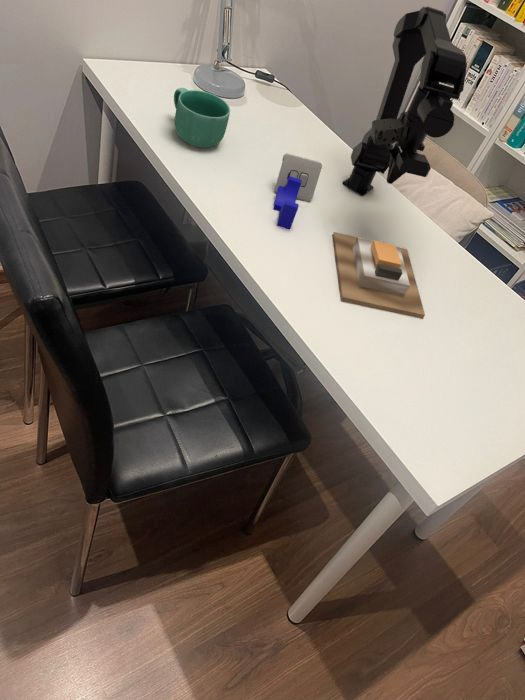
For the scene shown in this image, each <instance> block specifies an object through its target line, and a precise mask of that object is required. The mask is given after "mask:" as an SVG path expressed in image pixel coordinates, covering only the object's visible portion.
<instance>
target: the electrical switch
mask: <svg viewBox="0 0 525 700" xmlns="http://www.w3.org/2000/svg"><path fill="white" fill-rule="evenodd" d="M322 168H323V164H322V162H320V161H317V160H314V159H310V158H306V157H302V156H299V155H294V154H290V153H287V152H286V153H284V154H283V155H282V160H281V167H280V168H279V169H280V170H279V173H278V176H277V179H276V184H275V185H274V189H273V191H274V193H275V194H276V193H277V190H278V187H279V185H280V186H283V187H286V184H287V181H288V178H289V176H291V177H294V178H297V179H300V180H302V181H301V185H300V188H299V191H298V195H297V198H296V200H297V199H298V200H302V201H305V202H311V201H313V197H314V195H315V191H316V188H317V185H318V182H319V177H320V176H321V172H322Z"/></svg>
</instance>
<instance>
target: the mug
mask: <svg viewBox="0 0 525 700" xmlns="http://www.w3.org/2000/svg"><path fill="white" fill-rule="evenodd" d="M173 103H174V104H173V105H174V107H175V113H174V114H175V115H174V129H175V131H176V133H177V135H178V136H179V137H180V139H182V140H183V141H185V143H187V144H189V145H191V146H193V147H197V148H209V147H214V146H216V145H218V144H220V142H221V141H222V140H223V139H224V136H225V135H226V132H227V127H228V124H229V119H230V115H231V109H230V106H229V104H228V102H226V101H225V100H224V99H223V98H221V97H219V96H218V95H216V94H213V93H210V92H208V91H207V92H206V91H203V90H197V89H196V90H195V89H190V90H188V89H187V88H185V87H179V88H177V89H176V90H175V91H174V93H173Z"/></svg>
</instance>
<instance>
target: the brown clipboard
mask: <svg viewBox="0 0 525 700" xmlns="http://www.w3.org/2000/svg"><path fill="white" fill-rule="evenodd" d="M331 237H332V244H333V249H334V251H333V252H334V258H335V259H334V260H335V267H336V271H337V272H336V274H337V281H338V289H339V295H340V296H339V297H340V301H341V302H345V303H350V304H353V305H358V306H363V307H368V308H372V309H378V310H382V311H386V312H392V313H397V314H401V315H405V316H411V317H414V318H415V317H416V318H420V319H424V318H425V316H426V313H425V310H424V307H423V303H422V298H421V295H420V292H419V289H418V285H417V280H416V276H415V273H414V269H413V267H412V263H411V258H410V255H409V252H408V251H409V250H408V249H407V248H404V247H400V246H397V245H395V246H396V249H397V252H398V255H399V258H400V261H401V264H402V265H401V267H400V269H399V268H395V267H390V266H386V265H382V264H378V266H377V265H376V263H375V259H374V256H373V252H372V248H371V245H372V243H373V241H374V240H371V239H367V238H362V237H359V236H353V235H349V234H345V233H341V232H340V233H339V232H335V231H333V233H332V236H331Z"/></svg>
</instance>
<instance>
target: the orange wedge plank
mask: <svg viewBox="0 0 525 700" xmlns="http://www.w3.org/2000/svg"><path fill="white" fill-rule="evenodd" d="M372 241H373V243H372V245H371V248H372V252H373V256H374V259H375V263H376V265H377V266H378V264H382V265H386V266H390V267H395V268H399V269H400V267H401V265H402V264H401V261H400V258H399V255H398V252H397V249H396V246H397V245H394V244H391V243H387V242H381V241H377V240H372Z"/></svg>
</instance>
